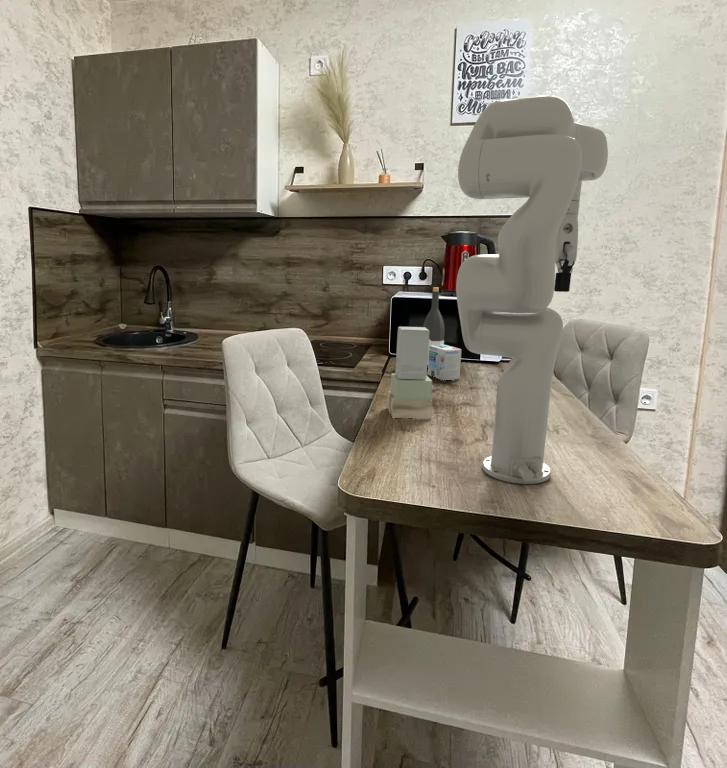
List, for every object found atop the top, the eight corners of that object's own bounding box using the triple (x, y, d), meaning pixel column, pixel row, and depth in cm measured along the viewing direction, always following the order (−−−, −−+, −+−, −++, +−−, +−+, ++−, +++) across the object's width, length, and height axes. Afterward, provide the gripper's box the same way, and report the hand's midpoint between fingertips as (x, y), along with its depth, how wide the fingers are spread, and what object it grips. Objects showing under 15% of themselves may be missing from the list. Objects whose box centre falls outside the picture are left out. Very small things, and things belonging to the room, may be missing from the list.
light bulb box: (427, 375, 184) (428, 345, 181) (443, 373, 187) (444, 344, 184) (443, 381, 174) (445, 349, 172) (460, 380, 177) (462, 348, 175)
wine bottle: (446, 368, 196) (451, 287, 189) (430, 370, 191) (434, 288, 185) (433, 364, 202) (437, 286, 195) (416, 366, 198) (420, 286, 191)
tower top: (431, 400, 132) (432, 380, 131) (396, 400, 131) (397, 381, 130) (423, 391, 140) (424, 373, 139) (390, 391, 139) (391, 373, 138)
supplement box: (426, 380, 131) (430, 330, 128) (397, 379, 131) (400, 329, 128) (422, 374, 138) (425, 326, 135) (394, 373, 138) (397, 325, 135)
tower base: (431, 419, 132) (432, 400, 131) (392, 419, 131) (393, 400, 130) (423, 408, 142) (424, 391, 141) (387, 408, 141) (388, 391, 140)
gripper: (596, 207, 105) (586, 293, 109) (559, 215, 122) (551, 288, 126) (561, 206, 105) (552, 292, 109) (528, 214, 122) (521, 288, 126)
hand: (551, 290), depth 117 cm, fingers open, 9 cm apart
